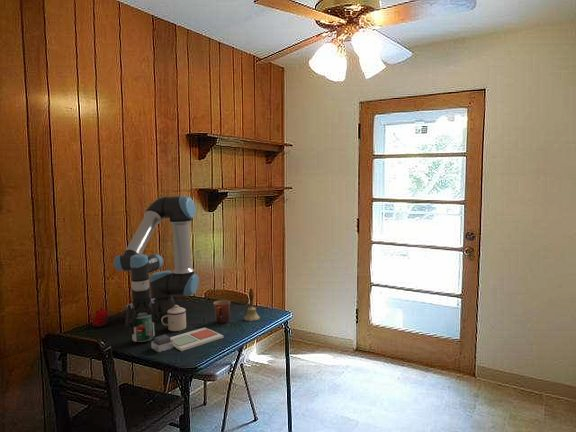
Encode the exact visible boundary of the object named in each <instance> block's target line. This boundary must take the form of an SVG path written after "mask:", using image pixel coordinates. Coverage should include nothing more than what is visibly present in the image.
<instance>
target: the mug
mask: <svg viewBox="0 0 576 432" xmlns="http://www.w3.org/2000/svg"><path fill="white" fill-rule="evenodd" d="M213 306H214V319H215V322H216V323H217V324H218V325H222V324H223V325H224V324H227V323H228V322H229V321H230V317H231V316H230V314H231V313H230V306H231V301H230V300H227V299H222V300H221V299H219V300H215V301H214V302H213Z"/></svg>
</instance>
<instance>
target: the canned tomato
mask: <svg viewBox="0 0 576 432" xmlns="http://www.w3.org/2000/svg"><path fill="white" fill-rule="evenodd" d="M134 326H135V327H136V338H137V341H136V342H139V343H143V342H144V343H145V342H147V341H148V342H149V341H151V340H152V339H153V338H154V336H153V333H152V317H151V315H150V314H148V313H147V311H146V312H139V313H138V316H137V318H136V322H135V325H134Z"/></svg>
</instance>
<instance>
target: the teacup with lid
mask: <svg viewBox="0 0 576 432" xmlns="http://www.w3.org/2000/svg"><path fill="white" fill-rule="evenodd" d="M186 313H187V309H186V308H184V307H181V306H179V305H178V304H175V306H174V307H173V308H172V309H169V310H168V311H167V314H168V315H165V316H162V317H160V321H161V324H162V325H163V326H167V327H168V330H169V331H171V332H179V331H183V330H185V329H186V328H187V314H186ZM164 318H167V323H165V322H164Z"/></svg>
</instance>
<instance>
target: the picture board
mask: <svg viewBox="0 0 576 432" xmlns="http://www.w3.org/2000/svg"><path fill="white" fill-rule="evenodd" d="M169 337H170V340H172V341H174V349H176V350H179V351H181V352H183V351H187V350H190V349H193V348H196V347H198V346H202V345H204V344H208V343H211V342H214V341H217V340H220V339H224V335H223V334H222V333H219V332H217V331H214V330H212V329H209V328H207V327H206V326H205V327H202V328H198V329H195V330H194V329H193V330H191V331H187V332H185V333H184V332H183V333H181V334H177V335H175V336H169Z"/></svg>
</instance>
